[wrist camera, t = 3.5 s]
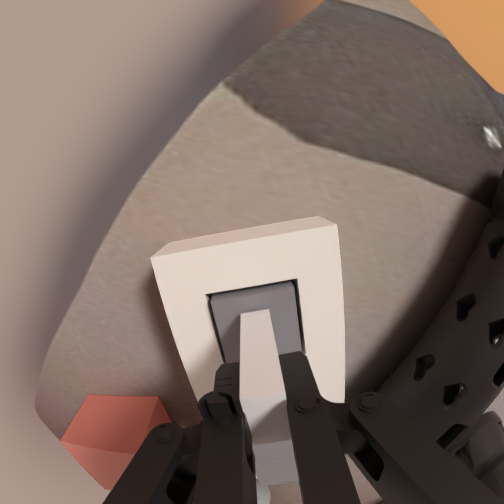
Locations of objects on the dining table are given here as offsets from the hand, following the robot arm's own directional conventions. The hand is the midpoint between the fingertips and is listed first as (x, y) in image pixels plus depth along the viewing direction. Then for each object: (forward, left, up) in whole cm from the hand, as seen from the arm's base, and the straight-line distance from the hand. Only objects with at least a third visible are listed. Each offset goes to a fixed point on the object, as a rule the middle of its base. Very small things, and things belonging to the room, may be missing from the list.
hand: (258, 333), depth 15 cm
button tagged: (0, 0, -4) cm, 4 cm away
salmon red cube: (-12, +14, -5) cm, 19 cm away
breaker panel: (-6, 0, -5) cm, 8 cm away
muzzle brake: (-4, -18, -5) cm, 19 cm away
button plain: (-12, 0, -2) cm, 12 cm away
